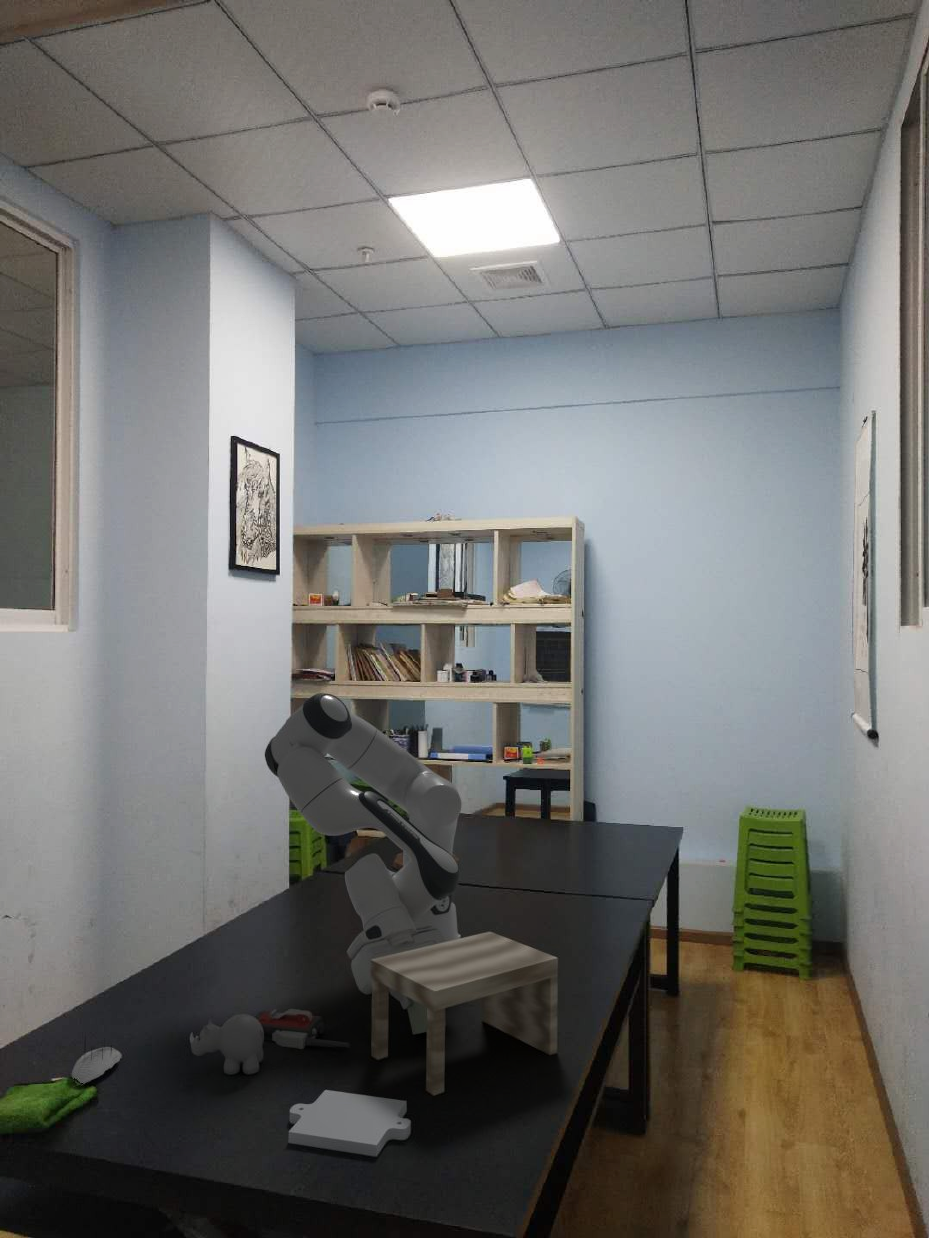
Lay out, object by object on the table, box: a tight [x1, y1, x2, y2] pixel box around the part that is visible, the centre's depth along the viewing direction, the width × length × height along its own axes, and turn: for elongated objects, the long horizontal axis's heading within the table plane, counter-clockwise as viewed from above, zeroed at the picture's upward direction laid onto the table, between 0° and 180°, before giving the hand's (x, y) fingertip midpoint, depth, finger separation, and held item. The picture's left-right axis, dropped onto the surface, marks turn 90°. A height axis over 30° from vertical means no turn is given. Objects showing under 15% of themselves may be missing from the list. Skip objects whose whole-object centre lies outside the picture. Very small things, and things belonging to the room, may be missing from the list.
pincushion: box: [71, 1035, 123, 1085], centre depth 157 cm, size 12×6×6 cm, turn 173°
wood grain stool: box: [370, 931, 559, 1096], centre depth 165 cm, size 18×26×16 cm
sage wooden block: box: [406, 1000, 447, 1035], centre depth 174 cm, size 4×4×8 cm
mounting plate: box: [288, 1089, 412, 1157], centre depth 140 cm, size 18×13×2 cm
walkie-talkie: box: [254, 1008, 351, 1050], centre depth 171 cm, size 9×4×20 cm
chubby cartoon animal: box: [189, 1013, 265, 1076], centre depth 159 cm, size 7×12×8 cm, turn 88°
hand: (422, 1002), depth 174 cm, fingers closed on sage wooden block, 4 cm apart
